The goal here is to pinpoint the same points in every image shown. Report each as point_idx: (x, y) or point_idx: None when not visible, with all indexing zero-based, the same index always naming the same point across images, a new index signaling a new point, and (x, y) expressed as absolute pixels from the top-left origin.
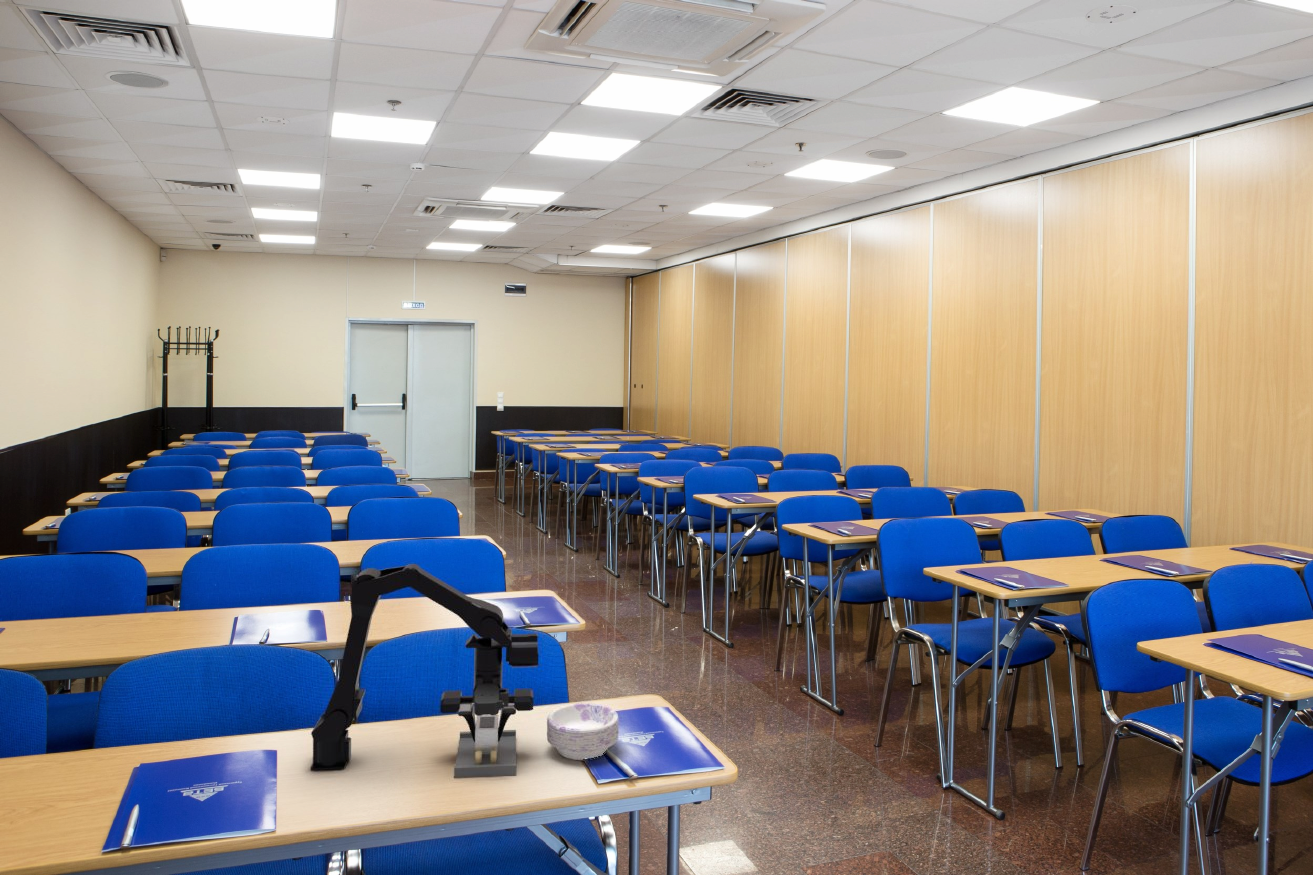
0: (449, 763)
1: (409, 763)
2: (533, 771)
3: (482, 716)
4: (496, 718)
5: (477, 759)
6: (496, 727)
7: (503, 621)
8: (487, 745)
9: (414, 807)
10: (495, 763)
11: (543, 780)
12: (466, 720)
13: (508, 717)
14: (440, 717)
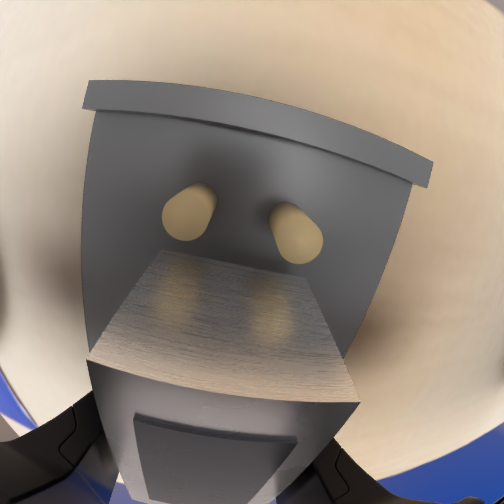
0: (379, 307)
1: (464, 329)
2: (44, 123)
3: None
4: (136, 486)
5: (302, 212)
6: (110, 405)
7: None
8: (223, 289)
9: (499, 39)
10: (189, 184)
11: (41, 43)
12: (386, 490)
13: (3, 443)
14: None
